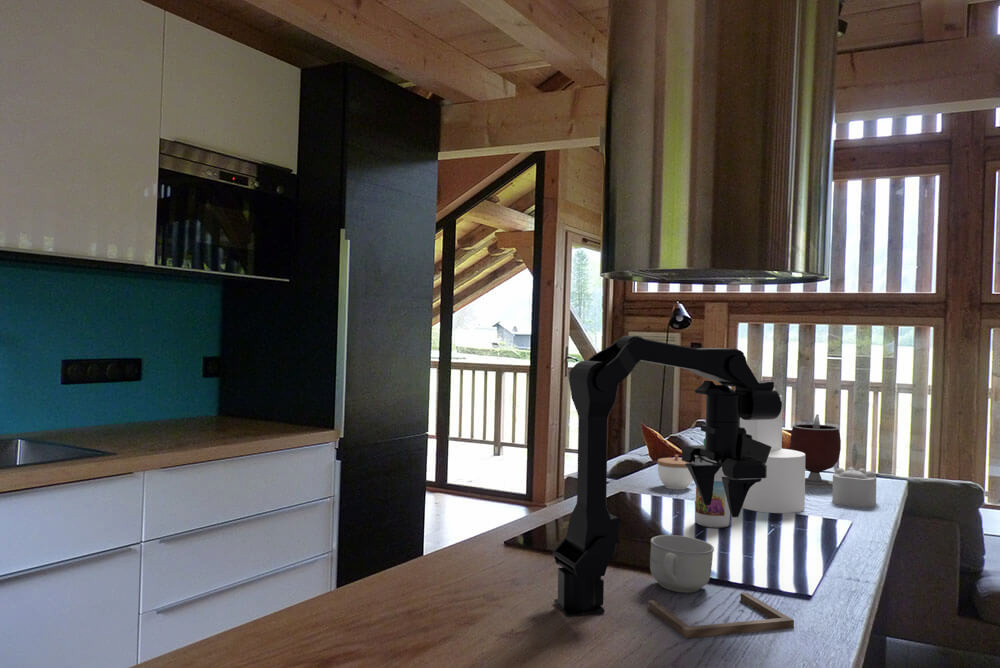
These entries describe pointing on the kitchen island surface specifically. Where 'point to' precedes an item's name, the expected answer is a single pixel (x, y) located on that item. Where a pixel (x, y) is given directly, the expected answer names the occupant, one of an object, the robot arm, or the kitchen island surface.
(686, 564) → the teacup
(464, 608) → the kitchen island surface
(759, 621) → the frame
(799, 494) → the white stepped block
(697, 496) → the milk bottle
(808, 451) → the mate gourd
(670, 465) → the lidded jar
